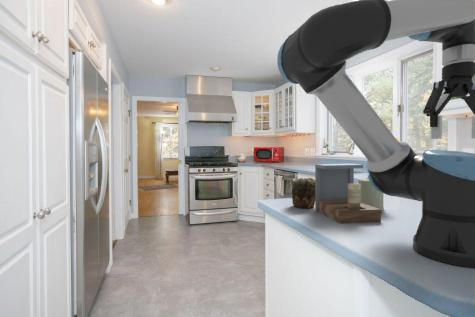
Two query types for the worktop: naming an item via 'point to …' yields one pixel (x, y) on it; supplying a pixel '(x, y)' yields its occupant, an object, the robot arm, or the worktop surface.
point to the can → (370, 194)
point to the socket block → (349, 212)
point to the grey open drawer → (333, 181)
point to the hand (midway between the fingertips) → (457, 138)
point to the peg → (353, 196)
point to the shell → (303, 193)
